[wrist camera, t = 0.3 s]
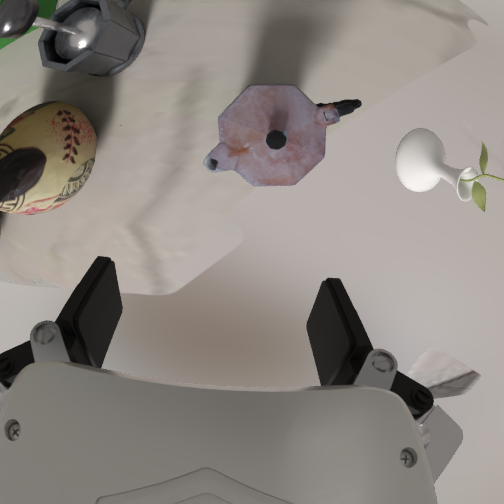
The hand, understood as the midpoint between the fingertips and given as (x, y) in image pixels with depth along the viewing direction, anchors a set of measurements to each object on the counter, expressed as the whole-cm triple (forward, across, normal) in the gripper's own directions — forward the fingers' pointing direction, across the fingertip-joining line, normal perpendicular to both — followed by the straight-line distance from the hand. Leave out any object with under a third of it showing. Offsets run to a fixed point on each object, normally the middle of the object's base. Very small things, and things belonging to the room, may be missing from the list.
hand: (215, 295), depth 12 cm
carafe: (+31, +20, -19) cm, 41 cm away
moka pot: (+31, -4, -6) cm, 32 cm away
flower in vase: (+31, -31, -7) cm, 44 cm away
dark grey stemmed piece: (+21, +20, -17) cm, 34 cm away
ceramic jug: (+31, +25, -1) cm, 40 cm away
